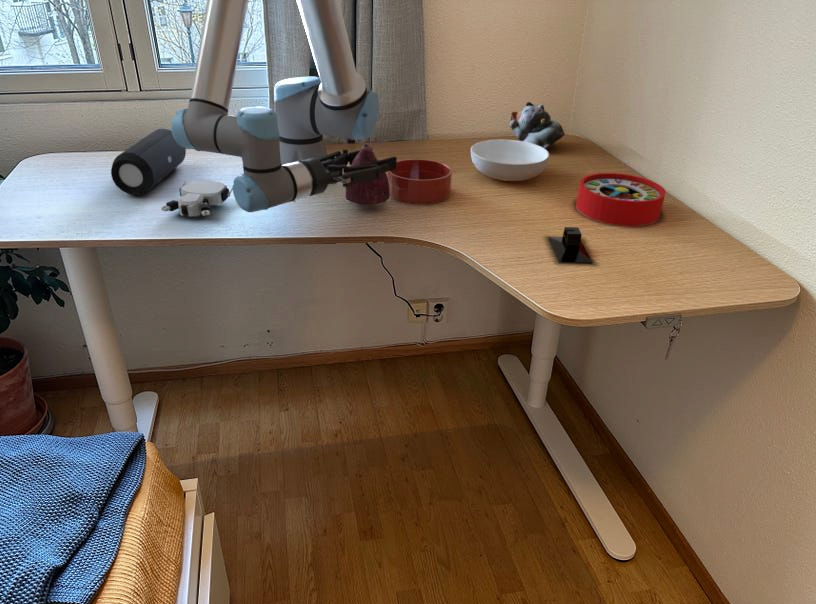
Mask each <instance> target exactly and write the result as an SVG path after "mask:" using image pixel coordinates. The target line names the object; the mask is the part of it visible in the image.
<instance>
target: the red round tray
mask: <svg viewBox="0 0 816 604" xmlns="http://www.w3.org/2000/svg"><path fill="white" fill-rule="evenodd" d="M386 174H387V177H388V182H389V194H390V196H389V197H391V198H392V199H394V200H396V201H399V202H403V203H406V204H415V205H416V204H417V205H427V204H435V203H439V202H443V201H444V200H446V199H447V198H449V196H450V195H451V191H452V178H453V170H452V168H451V166H449V165H447V164H446V163H443V162H440V161H437V160H431V159H424V158H423V159H422V158H409V159H407V158H406V159H401V160H397V165H396V169H394V170H391V171H387V172H386Z"/></svg>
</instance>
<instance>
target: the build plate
mask: <svg viewBox="0 0 816 604" xmlns="http://www.w3.org/2000/svg"><path fill="white" fill-rule="evenodd" d="M582 237H583V233H582V232H581V230H580V228H579V227H576V226H575V227H574V226H564V229H563V231H562V236H548V238H547V239H548V241H549V243H550V246H551V248H552V251H553V252H554V255H555V258H556V260H557V263H558V264H583V265H592V264H593V263H594V262H593V260H592V258H591V256H590V254H589V253H588V250H587V248H586V247H585V245H584V242H583V240H582Z"/></svg>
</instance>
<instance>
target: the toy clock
mask: <svg viewBox="0 0 816 604" xmlns="http://www.w3.org/2000/svg"><path fill="white" fill-rule="evenodd" d="M665 197H666V190H665V188H664V187H663V186H662V185H660V184H659V183H657V182H655V181H654V180H651V179H647V178H645V177H641V176H637V175H633V174H627V173H619V172H600V173H599V172H598V173H592V174H588V175H586V176H584V177H582V178H581V179H580V180H579V186H578V192H577V197H576V202H575V208H576V210H577V211H578V212H579V213H580V214H582V215H583V216H584V217H587V218H588V219H591V220H594V221H596V222H599V223H603V224H609V225H613V226H621V227H641V226H648V225H651V224H654V223H656V222H657V221H659V219H660V216H661V212H662V209H663V205H664V202H665Z"/></svg>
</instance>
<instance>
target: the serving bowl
mask: <svg viewBox="0 0 816 604" xmlns="http://www.w3.org/2000/svg"><path fill="white" fill-rule="evenodd" d="M470 156H471V162H472V164H473V165H474V167H475V169H476V170H477V171H478V172H480V173H481V174H482V175H484V176H486V177H489V178H491V179H493V180H494V179H495V180H498V181H503V182H519V181H520V182H521V181H522V182H523V181H526V180H531V179H533V178H535V177H537V176H538V175H539V174H541V173H542V172H543V171H544V170H545V168H546V167H547V164H548V161H549V159H550V152H549V151H548V150H547V148H546V149H544V148H542V147H540V146H538V145H535V144H532V143H528V142H523V141H520V140H516V139H503V138H501V139H500V138H499V139H487V140H481V141H478V142H476V143H474V144H473V145H472V146H471V147H470Z"/></svg>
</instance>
